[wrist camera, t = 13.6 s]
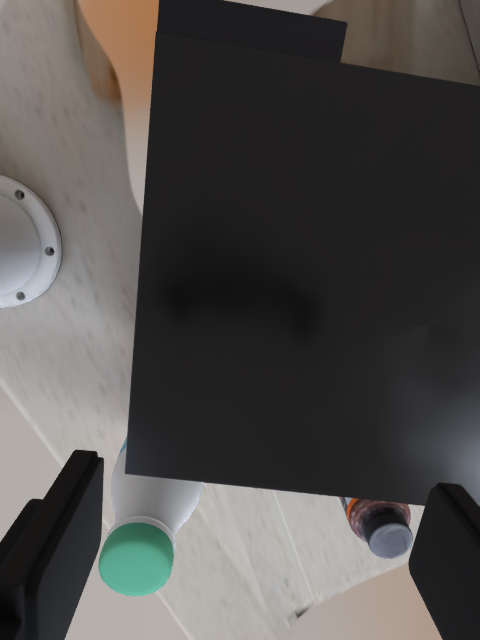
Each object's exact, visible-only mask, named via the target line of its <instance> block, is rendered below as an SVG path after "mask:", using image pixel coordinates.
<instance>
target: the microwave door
mask: <svg viewBox="0 0 480 640" xmlns="http://www.w3.org/2000/svg"><path fill="white" fill-rule="evenodd" d="M459 1H460V4H461V8H462V11H463V15H464V18H465V21H466V25H467V28H468V32H469V35H470V39H471V42H472V46H473V49H474V53H475V56H476V60H477V63H478V67H479V70H480V0H459Z"/></svg>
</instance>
